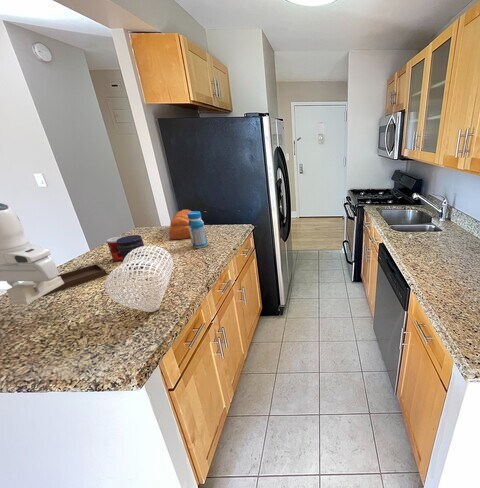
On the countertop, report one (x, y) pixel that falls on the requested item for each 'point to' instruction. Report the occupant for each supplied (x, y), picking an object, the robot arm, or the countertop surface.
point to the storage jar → (130, 247)
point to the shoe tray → (79, 276)
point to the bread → (180, 225)
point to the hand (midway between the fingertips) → (30, 291)
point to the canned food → (115, 248)
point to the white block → (31, 291)
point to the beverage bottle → (197, 229)
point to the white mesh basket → (140, 261)
